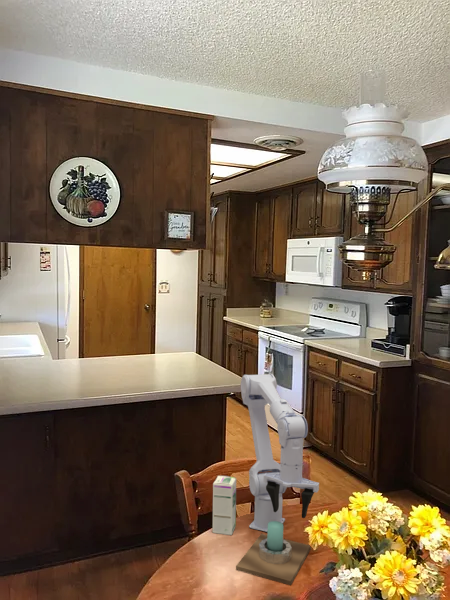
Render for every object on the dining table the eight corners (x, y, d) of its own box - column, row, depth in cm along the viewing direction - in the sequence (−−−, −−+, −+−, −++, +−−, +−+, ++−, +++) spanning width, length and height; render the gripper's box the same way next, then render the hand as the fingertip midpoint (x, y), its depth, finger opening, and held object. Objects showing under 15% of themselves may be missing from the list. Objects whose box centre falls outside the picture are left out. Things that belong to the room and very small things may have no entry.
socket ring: (265, 544, 137) (265, 535, 137) (294, 551, 134) (294, 542, 134) (254, 559, 130) (255, 549, 130) (285, 567, 126) (285, 557, 126)
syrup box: (232, 535, 143) (233, 484, 142) (211, 533, 144) (212, 482, 144) (235, 526, 149) (237, 476, 148) (215, 523, 150) (217, 474, 149)
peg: (270, 549, 134) (270, 519, 134) (284, 553, 133) (285, 523, 132) (264, 557, 131) (265, 526, 130) (279, 561, 129) (280, 530, 129)
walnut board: (261, 536, 143) (261, 533, 143) (310, 549, 137) (310, 545, 137) (235, 569, 126) (236, 565, 126) (290, 585, 121) (290, 581, 121)
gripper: (260, 462, 134) (258, 513, 134) (314, 472, 128) (313, 525, 128) (269, 454, 140) (267, 503, 141) (321, 463, 134) (320, 514, 135)
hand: (289, 513), depth 135 cm, fingers open, 7 cm apart
